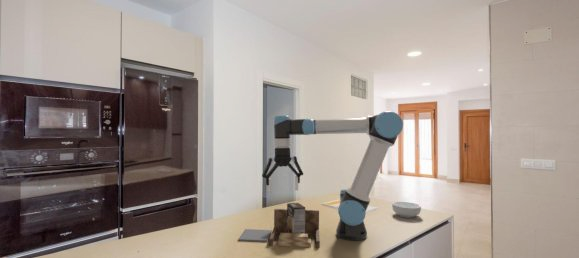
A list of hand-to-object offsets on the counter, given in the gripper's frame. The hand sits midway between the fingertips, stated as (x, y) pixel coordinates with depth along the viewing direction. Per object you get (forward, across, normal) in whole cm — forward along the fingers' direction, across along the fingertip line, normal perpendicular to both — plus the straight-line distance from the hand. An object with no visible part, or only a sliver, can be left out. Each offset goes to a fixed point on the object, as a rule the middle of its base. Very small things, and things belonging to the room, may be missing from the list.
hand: (283, 191), depth 140 cm
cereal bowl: (+26, -84, -19) cm, 90 cm away
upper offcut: (+22, -3, +7) cm, 23 cm away
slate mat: (+23, +13, -7) cm, 27 cm away
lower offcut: (+24, -3, +7) cm, 25 cm away
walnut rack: (+24, -5, +1) cm, 24 cm away
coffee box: (+24, -6, 0) cm, 24 cm away
